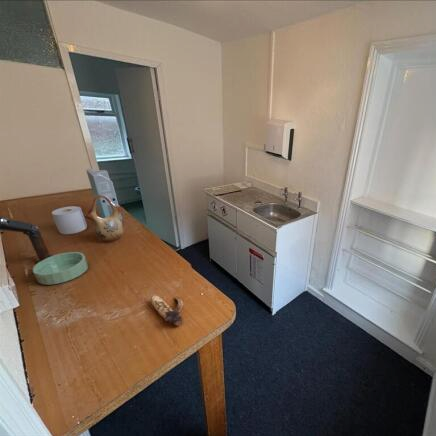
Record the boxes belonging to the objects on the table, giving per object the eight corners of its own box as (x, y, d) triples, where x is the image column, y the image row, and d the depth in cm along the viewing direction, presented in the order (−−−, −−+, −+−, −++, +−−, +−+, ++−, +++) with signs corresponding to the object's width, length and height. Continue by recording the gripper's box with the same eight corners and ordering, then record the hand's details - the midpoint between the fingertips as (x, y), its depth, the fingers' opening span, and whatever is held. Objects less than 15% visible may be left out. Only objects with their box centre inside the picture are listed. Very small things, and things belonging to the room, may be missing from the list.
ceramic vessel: (95, 248, 115) (80, 201, 104) (90, 241, 120) (75, 196, 109) (133, 237, 126) (122, 194, 116) (127, 231, 132) (116, 189, 121)
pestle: (34, 264, 101) (17, 229, 94) (42, 258, 106) (27, 223, 98) (49, 263, 102) (34, 228, 95) (56, 257, 107) (42, 223, 100)
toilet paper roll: (88, 223, 137) (82, 204, 132) (86, 231, 128) (79, 212, 124) (61, 227, 131) (53, 208, 126) (56, 236, 122) (48, 216, 117)
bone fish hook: (196, 317, 83) (170, 292, 92) (195, 307, 81) (169, 283, 90) (170, 333, 76) (145, 305, 85) (169, 323, 74) (143, 295, 83)
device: (122, 222, 142) (110, 173, 129) (107, 225, 136) (92, 175, 124) (114, 213, 151) (102, 167, 139) (100, 216, 146) (85, 169, 133)
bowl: (27, 288, 89) (21, 276, 86) (53, 264, 102) (48, 253, 100) (76, 283, 93) (72, 272, 91) (95, 260, 106) (91, 250, 104)
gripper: (-109, 233, 64) (-34, 252, 83) (11, 223, 72) (55, 242, 91) (-100, 209, 67) (-29, 232, 85) (15, 201, 75) (57, 224, 94)
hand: (14, 237), depth 88 cm, fingers open, 13 cm apart
